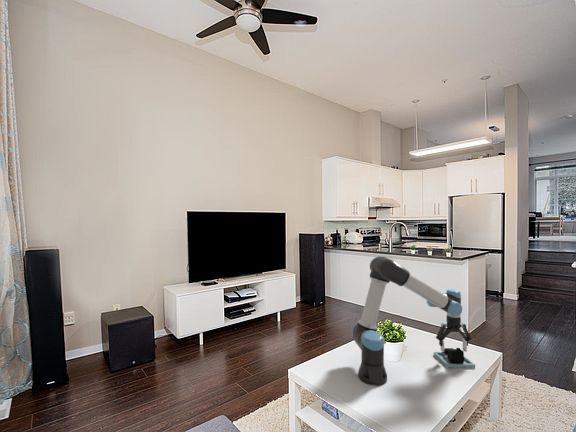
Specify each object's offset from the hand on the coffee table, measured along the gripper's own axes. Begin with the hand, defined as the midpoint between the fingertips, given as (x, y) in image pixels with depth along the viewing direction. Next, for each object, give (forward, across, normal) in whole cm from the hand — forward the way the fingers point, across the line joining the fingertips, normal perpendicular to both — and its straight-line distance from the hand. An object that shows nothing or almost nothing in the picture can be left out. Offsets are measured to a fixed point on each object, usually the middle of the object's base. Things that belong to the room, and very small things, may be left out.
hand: (453, 351), depth 180 cm
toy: (+5, 0, +2) cm, 5 cm away
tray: (+6, 0, 0) cm, 6 cm away
